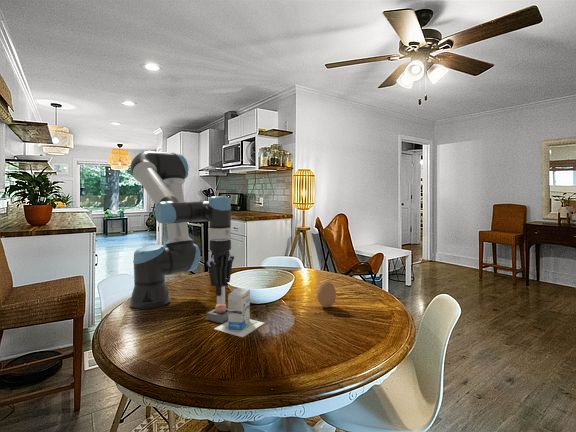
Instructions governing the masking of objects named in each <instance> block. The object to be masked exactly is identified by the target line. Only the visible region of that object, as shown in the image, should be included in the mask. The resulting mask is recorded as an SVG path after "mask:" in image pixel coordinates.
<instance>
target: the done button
mask: <svg viewBox="0 0 576 432" xmlns="http://www.w3.org/2000/svg"><path fill="white" fill-rule="evenodd" d="M226 308H227V304H226V303H225V304H223V305H221V304H217V303H216V305H215V309H216V313H217V314H224V313H226Z"/></svg>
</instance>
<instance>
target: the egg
mask: <svg viewBox="0 0 576 432" xmlns="http://www.w3.org/2000/svg"><path fill="white" fill-rule="evenodd" d="M316 299H317V301H318V304H319V305H321V307H323V308H326V309H327V308H328V309H329V308H331V307H332V306H333V305H334V304H335V302H336V299H337V293H336V288H335V286H334V284H333V283H332V282H331V281H329V280H324V281H322V282H321V283H320V284H319V286H318V289H317V291H316Z"/></svg>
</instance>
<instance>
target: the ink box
mask: <svg viewBox="0 0 576 432" xmlns="http://www.w3.org/2000/svg"><path fill="white" fill-rule="evenodd" d="M250 305H251V290H250V288H243V287H241V288H240V287H238V288H235V289H234V290H233V291H231V292H229V293H228V294H227V307H228V308H227V309H228V324H229V329H235V330H242V329H243V328H244V327H245V326H246V325H247V324H248V323H249V322H250V319H251V306H250Z"/></svg>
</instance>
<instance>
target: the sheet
mask: <svg viewBox="0 0 576 432" xmlns="http://www.w3.org/2000/svg"><path fill="white" fill-rule="evenodd" d="M265 324H266V323H265V322H262V321H258V320H254V319H251V318H250V322H249V323H248V324H247V325H246V326H245V327H244V328H243V329H242V330H235V329H229V324H228V321H226V322H224V323H221V324H220V325H218V326H216V327H214V328H213V330H215V331H219V332H223V333H226V334H229V335H232V336H237V337H239V338H245V337H246V336H248V335H249V334H250V333H252V332H254V331H256V330H257V329H259V328H261V326H263V325H265Z"/></svg>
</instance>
